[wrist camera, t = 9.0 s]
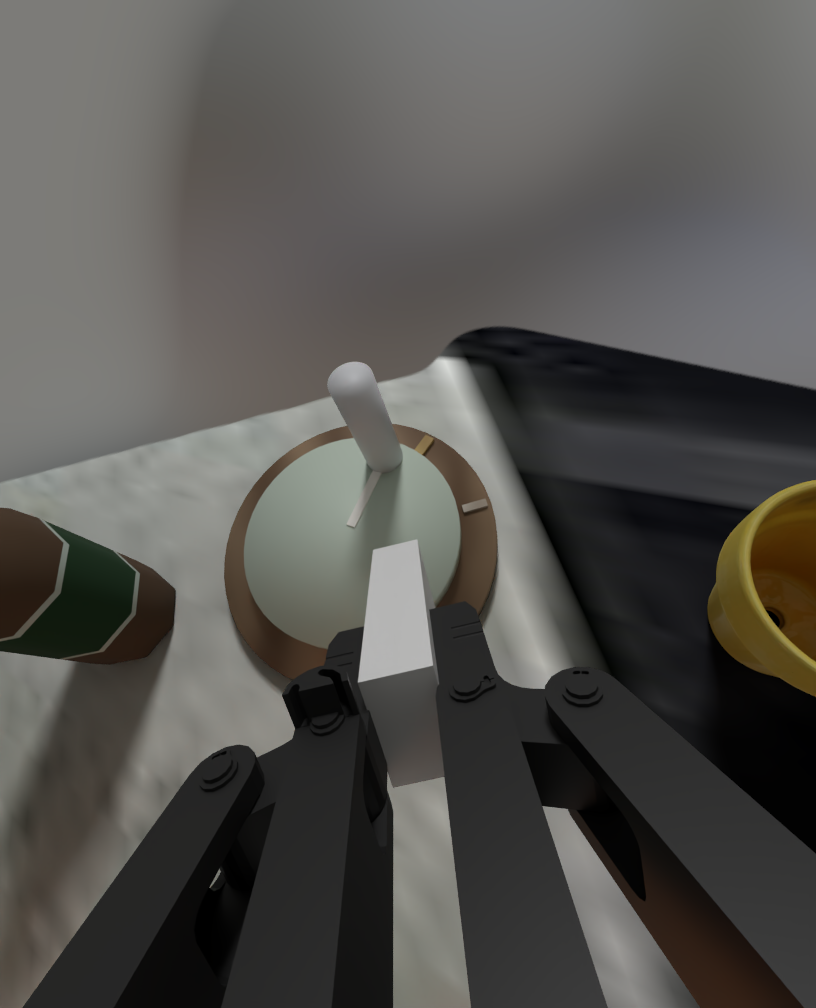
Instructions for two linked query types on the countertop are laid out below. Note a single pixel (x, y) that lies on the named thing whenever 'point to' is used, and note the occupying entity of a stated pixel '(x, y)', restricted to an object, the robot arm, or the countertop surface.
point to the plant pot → (771, 588)
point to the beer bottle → (76, 596)
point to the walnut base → (465, 586)
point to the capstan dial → (347, 520)
